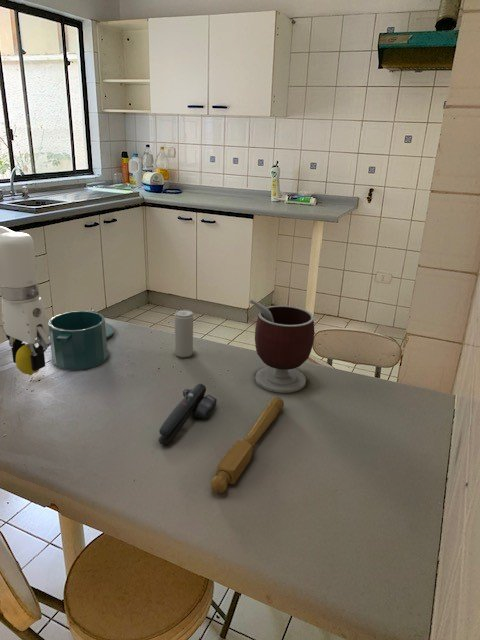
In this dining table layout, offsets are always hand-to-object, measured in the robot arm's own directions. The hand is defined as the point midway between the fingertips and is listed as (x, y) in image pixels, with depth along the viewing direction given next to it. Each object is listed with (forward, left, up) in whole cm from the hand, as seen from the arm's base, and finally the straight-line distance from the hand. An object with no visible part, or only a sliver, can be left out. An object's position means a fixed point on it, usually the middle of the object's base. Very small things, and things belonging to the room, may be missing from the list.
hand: (29, 364), depth 107 cm
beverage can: (+33, +19, -4) cm, 38 cm away
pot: (+7, +13, -4) cm, 15 cm away
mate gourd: (+58, +9, -4) cm, 58 cm away
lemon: (0, 0, -3) cm, 3 cm away
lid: (+3, +27, -4) cm, 28 cm away
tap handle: (+52, -18, -4) cm, 56 cm away
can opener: (+39, -12, -4) cm, 41 cm away
